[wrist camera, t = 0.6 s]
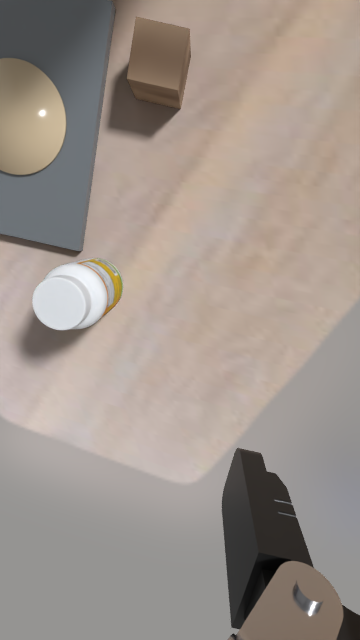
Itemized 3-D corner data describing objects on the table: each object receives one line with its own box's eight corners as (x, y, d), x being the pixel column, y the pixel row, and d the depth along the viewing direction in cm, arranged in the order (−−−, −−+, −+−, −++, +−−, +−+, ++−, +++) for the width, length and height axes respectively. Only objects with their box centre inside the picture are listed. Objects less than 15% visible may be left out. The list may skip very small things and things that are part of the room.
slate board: (-51, -29, 27) (-62, -41, 26) (115, 9, 27) (111, -2, 26) (-57, 219, 32) (-68, 218, 31) (82, 250, 32) (77, 251, 31)
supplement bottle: (75, 311, 34) (28, 341, 25) (67, 259, 33) (15, 269, 23) (127, 309, 34) (99, 338, 24) (121, 255, 32) (89, 265, 23)
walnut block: (144, 46, 28) (136, 16, 24) (190, 57, 28) (189, 28, 24) (136, 99, 29) (126, 78, 25) (180, 109, 29) (178, 90, 25)
